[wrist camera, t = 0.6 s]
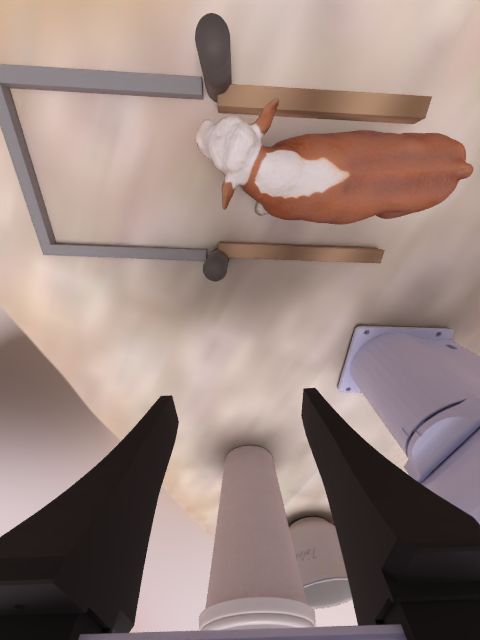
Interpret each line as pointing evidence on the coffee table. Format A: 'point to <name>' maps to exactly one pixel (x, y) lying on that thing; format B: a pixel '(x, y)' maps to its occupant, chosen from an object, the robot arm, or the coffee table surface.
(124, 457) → the robot arm
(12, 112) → the frame
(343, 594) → the teacup
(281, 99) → the pair of brown bars
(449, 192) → the bull figurine
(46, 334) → the coffee table surface
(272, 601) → the coffee cup
